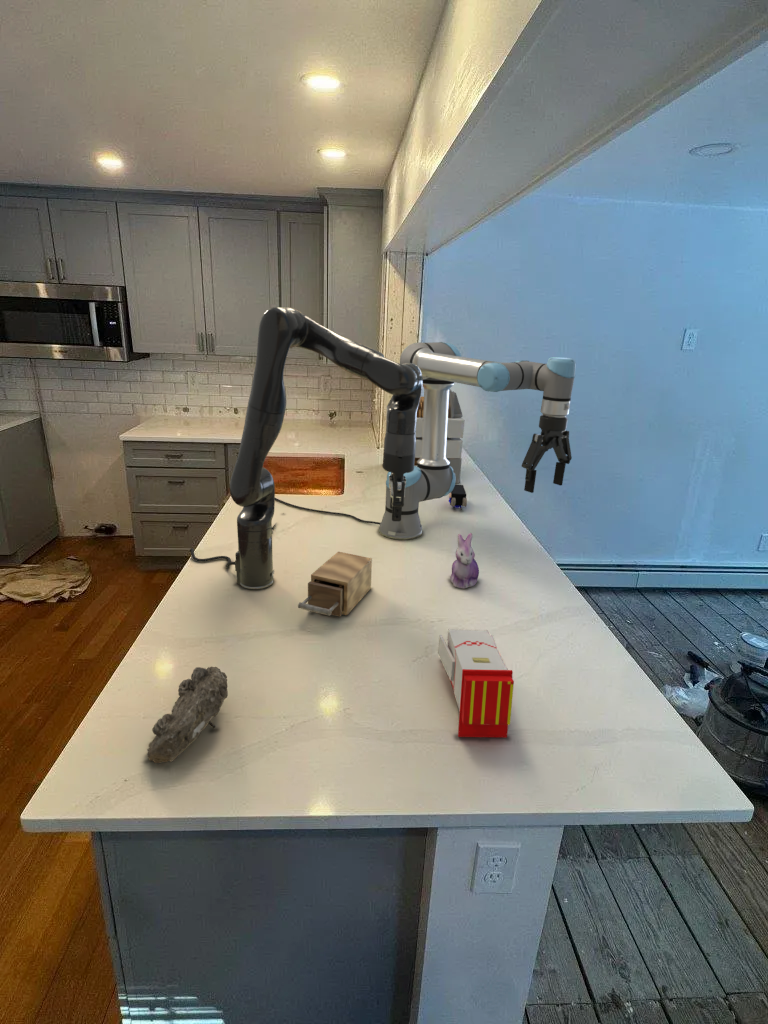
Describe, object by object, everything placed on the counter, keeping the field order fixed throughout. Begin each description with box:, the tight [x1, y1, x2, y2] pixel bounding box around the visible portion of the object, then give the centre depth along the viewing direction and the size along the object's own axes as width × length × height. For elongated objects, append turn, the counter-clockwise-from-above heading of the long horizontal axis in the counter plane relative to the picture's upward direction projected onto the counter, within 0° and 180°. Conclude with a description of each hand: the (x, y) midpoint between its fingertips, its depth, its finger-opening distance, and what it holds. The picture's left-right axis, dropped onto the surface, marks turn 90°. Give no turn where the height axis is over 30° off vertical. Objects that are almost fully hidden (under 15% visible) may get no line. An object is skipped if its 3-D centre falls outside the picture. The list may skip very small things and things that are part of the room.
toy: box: [437, 628, 515, 738], centre depth 117 cm, size 12×13×30 cm
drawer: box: [297, 580, 344, 617], centre depth 147 cm, size 21×9×7 cm, turn 159°
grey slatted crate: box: [385, 388, 465, 484], centre depth 268 cm, size 34×33×41 cm
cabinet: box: [310, 551, 373, 616], centre depth 153 cm, size 16×10×10 cm, turn 159°
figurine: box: [450, 532, 480, 589], centre depth 164 cm, size 9×10×15 cm
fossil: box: [146, 666, 229, 764], centre depth 104 cm, size 22×10×15 cm
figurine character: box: [448, 483, 468, 511], centre depth 230 cm, size 7×8×15 cm
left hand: (395, 514), depth 139 cm, fingers open, 8 cm apart
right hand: (543, 487), depth 165 cm, fingers open, 13 cm apart
